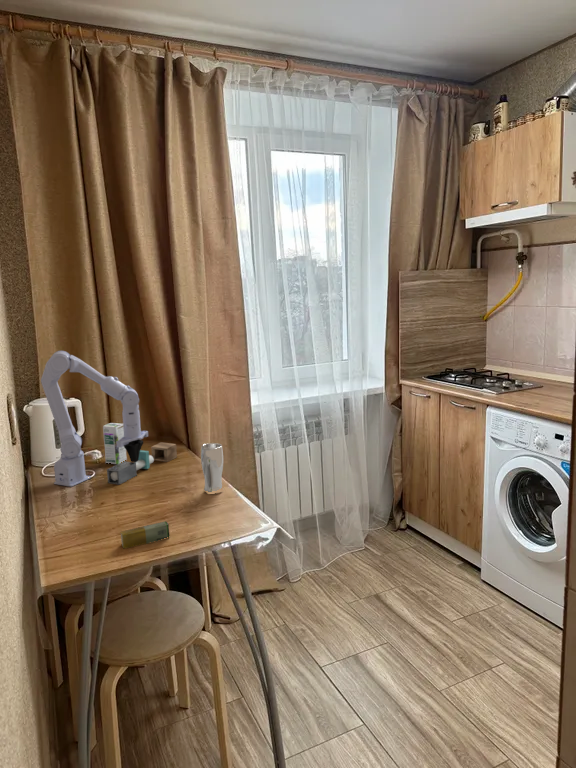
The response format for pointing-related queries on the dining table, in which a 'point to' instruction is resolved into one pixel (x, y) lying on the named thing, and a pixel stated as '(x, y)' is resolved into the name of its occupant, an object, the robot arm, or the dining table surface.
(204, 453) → the beer glass
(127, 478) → the sleeve
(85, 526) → the dining table surface
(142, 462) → the slip tube
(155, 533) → the medication box
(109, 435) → the syrup box
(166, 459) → the socket block
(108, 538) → the dining table surface
